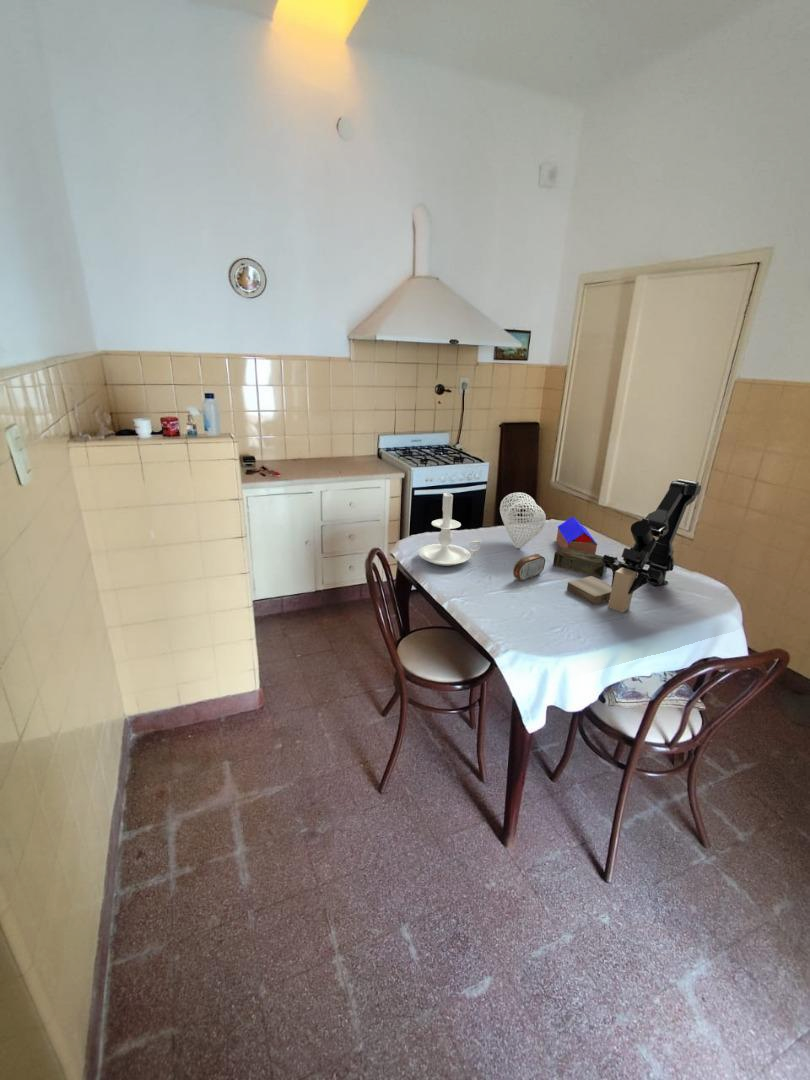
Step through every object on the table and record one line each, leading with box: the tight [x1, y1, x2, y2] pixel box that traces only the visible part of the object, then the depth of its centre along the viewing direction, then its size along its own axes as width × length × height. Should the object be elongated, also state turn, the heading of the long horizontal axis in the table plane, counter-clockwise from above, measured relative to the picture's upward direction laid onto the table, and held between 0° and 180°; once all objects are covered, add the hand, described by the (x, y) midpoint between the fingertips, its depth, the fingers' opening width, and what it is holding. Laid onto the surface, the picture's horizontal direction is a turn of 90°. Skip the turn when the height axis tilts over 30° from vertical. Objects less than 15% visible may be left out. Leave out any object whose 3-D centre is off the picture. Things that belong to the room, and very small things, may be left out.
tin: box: [512, 553, 546, 581], centre depth 181 cm, size 15×3×8 cm, turn 126°
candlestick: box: [417, 492, 483, 567], centre depth 190 cm, size 21×25×28 cm
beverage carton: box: [552, 546, 608, 578], centre depth 190 cm, size 8×19×7 cm, turn 58°
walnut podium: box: [566, 575, 612, 606], centre depth 171 cm, size 12×12×3 cm
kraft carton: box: [607, 567, 638, 613], centre depth 160 cm, size 5×5×13 cm
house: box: [556, 516, 599, 555], centre depth 207 cm, size 12×20×12 cm, turn 176°
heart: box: [499, 492, 547, 549], centre depth 205 cm, size 28×16×22 cm, turn 0°
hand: (620, 590), depth 159 cm, fingers closed on kraft carton, 5 cm apart
